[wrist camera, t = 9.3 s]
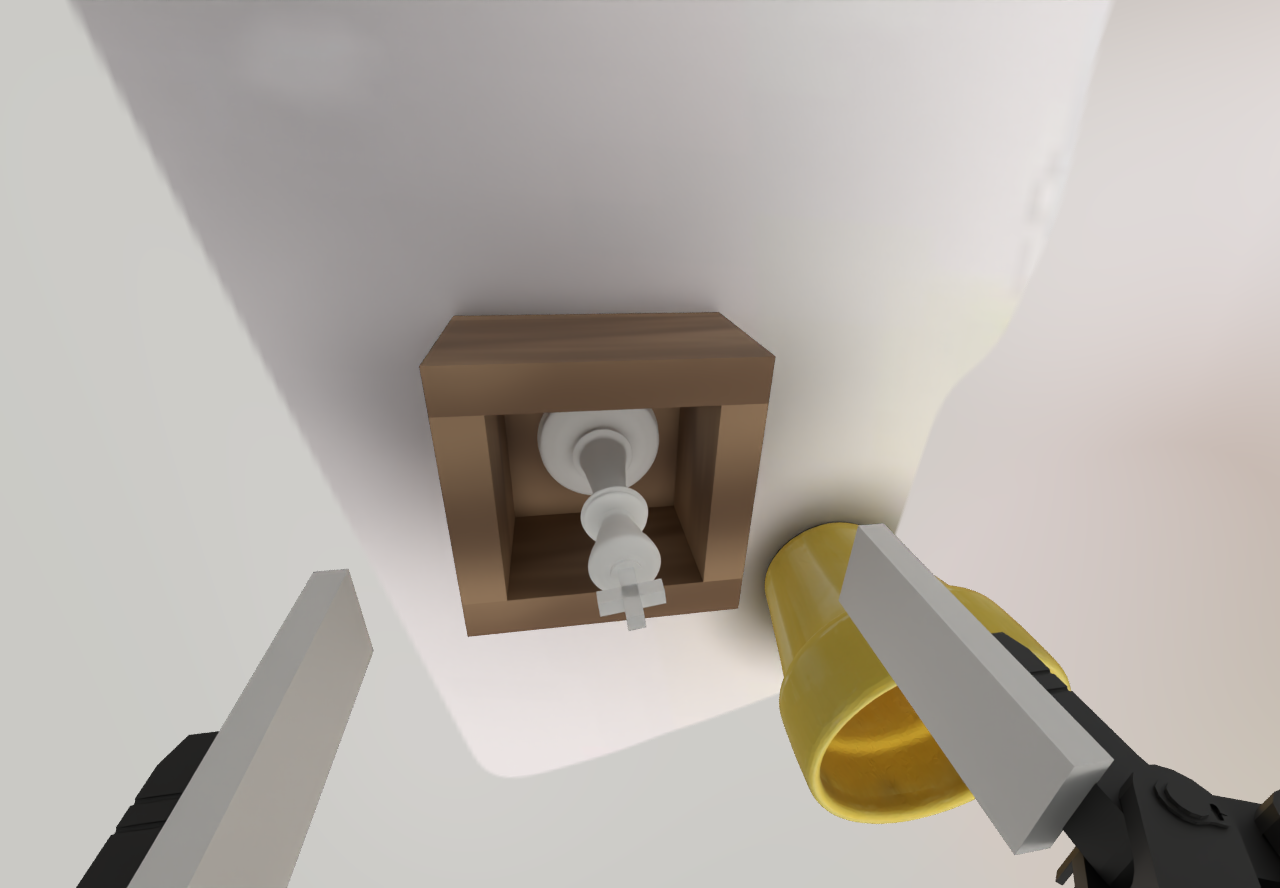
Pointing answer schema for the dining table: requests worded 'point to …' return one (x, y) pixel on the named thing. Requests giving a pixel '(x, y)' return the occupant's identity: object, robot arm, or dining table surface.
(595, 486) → the chess piece
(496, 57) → the dining table surface
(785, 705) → the plant pot
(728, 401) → the walnut holder
